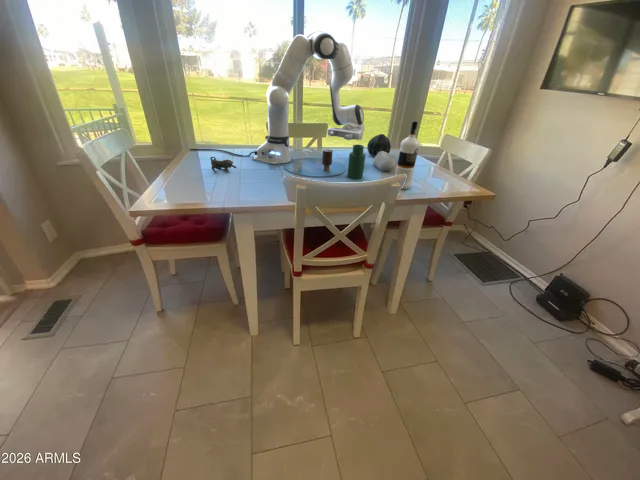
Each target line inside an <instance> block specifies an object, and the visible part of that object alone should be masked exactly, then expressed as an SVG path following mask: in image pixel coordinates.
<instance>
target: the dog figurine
mask: <svg viewBox="0 0 640 480" xmlns="http://www.w3.org/2000/svg"><path fill="white" fill-rule="evenodd" d="M209 159H210V164H211V167H210V168H211V171H213V172H214V174H216V173H217V171H216V170H219V171H223V172H224V173H229V169H231V168H234V169H237V166H236V165H234V161H233V160H231V159H224V160H219V159H218V160H217V158H216V157H215V156H210V158H209Z"/></svg>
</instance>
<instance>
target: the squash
mask: <svg viewBox="0 0 640 480" xmlns="http://www.w3.org/2000/svg"><path fill="white" fill-rule="evenodd" d="M366 146H367V148H366V149H367V153H368V154H370V155H371V156H375V157H376V155H377V154H378V153H379V152H380V151H384V152H387V153H388V154H390V152H391V149H392V147H391V146H392V145H391V141H390V139H389V137H387V136H386V135H385V134H383V133H379V134H377V135H375V136H373V137H372V138H370V139H369V141H368V142H367V145H366Z"/></svg>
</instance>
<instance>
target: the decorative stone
mask: <svg viewBox="0 0 640 480" xmlns="http://www.w3.org/2000/svg"><path fill="white" fill-rule="evenodd" d="M389 154H390V153H389ZM389 154H388V153H387V152H384V151H380V152H379V153H378V154H377V155H376V156H375V157H374V158H373V161H372V163H373V165H374V167H376V168H377V169H378V170H380V171H382V172H389V171H393V170H394V169H396V160H395V158H394V157H392V156H390V155H389Z"/></svg>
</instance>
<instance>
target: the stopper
mask: <svg viewBox="0 0 640 480" xmlns="http://www.w3.org/2000/svg"><path fill="white" fill-rule="evenodd" d="M321 159H322V160H321V164H322V165H323V172H325V173H328V172H330V169H331V168H330V166H332V164H333V150H332V149H330V148H324V149H322V157H321Z"/></svg>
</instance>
